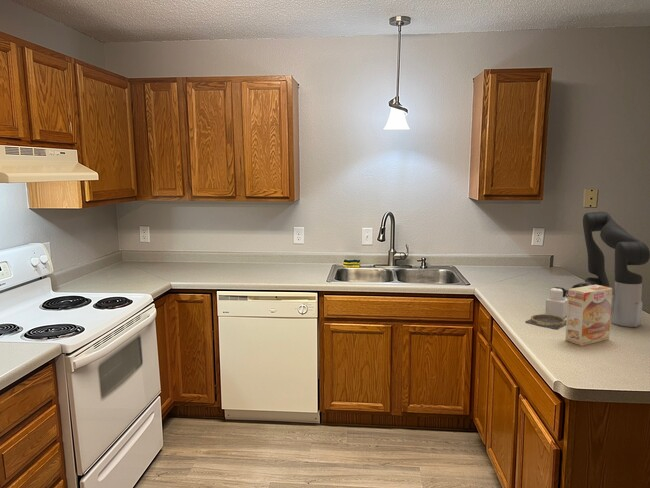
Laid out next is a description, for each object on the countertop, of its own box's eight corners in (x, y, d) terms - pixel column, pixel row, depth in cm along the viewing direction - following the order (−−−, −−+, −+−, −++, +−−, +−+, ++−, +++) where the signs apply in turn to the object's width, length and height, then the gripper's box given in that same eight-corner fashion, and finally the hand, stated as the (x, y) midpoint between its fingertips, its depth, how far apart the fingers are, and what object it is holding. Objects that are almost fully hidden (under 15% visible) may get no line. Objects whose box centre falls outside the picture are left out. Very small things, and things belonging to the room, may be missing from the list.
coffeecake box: (581, 346, 166) (584, 292, 163) (564, 340, 172) (566, 288, 170) (610, 339, 172) (613, 287, 169) (592, 333, 178) (595, 283, 175)
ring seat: (570, 322, 192) (570, 318, 192) (556, 329, 184) (556, 325, 184) (539, 316, 202) (539, 312, 201) (525, 322, 194) (525, 318, 193)
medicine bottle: (551, 311, 208) (552, 285, 206) (568, 314, 203) (569, 287, 201) (545, 315, 203) (546, 288, 201) (562, 318, 198) (563, 290, 196)
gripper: (567, 280, 223) (551, 286, 213) (599, 285, 213) (585, 291, 202) (566, 296, 224) (551, 302, 214) (598, 301, 214) (584, 308, 203)
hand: (567, 297), depth 208 cm, fingers open, 8 cm apart
